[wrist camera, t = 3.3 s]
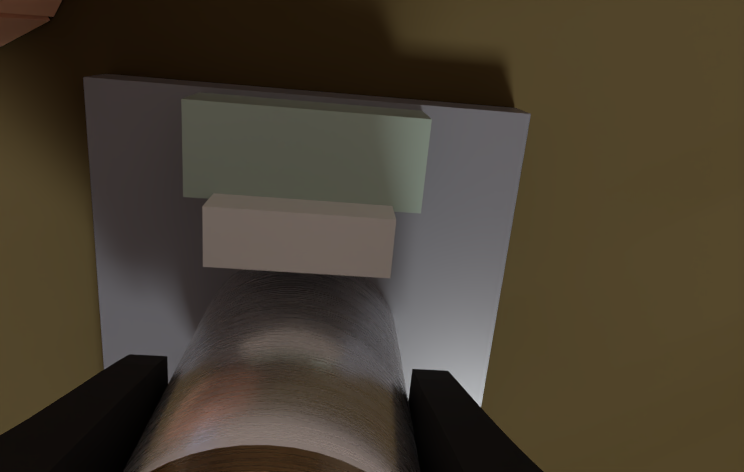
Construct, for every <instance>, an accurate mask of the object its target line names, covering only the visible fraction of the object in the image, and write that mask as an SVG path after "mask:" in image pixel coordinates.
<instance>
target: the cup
mask: <svg viewBox="0 0 744 472" xmlns="http://www.w3.org/2000/svg"><path fill="white" fill-rule="evenodd" d="M61 1H62V0H0V47H1V46H3V45H5V44H7V43H9V42H11V41H13V40H15V39H16V38H18V37H20V36H22V35H24V34H26V33H28V32H30V31H31V30H33V29H35V28H37V27H39V26H41V25H43V24H45V23H46V22H48V21H50V19H49V18H48V16H50V17H54V15H55V13H56V11H57V9H58V7H59V5H60V3H61Z"/></svg>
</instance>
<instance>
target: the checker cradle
mask: <svg viewBox="0 0 744 472" xmlns="http://www.w3.org/2000/svg"><path fill="white" fill-rule="evenodd" d="M83 83H84V97H85V111H86V125H87V138H88V152H89V166H90V180H91V194H92V208H93V222H94V236H95V250H96V264H97V278H98V292H99V306H100V320H101V334H102V347H103V361H104V369H106V368H107V367H109V366H111V365H112V364H114V363H115V362H117V361H119V360H120V359H122V358H124V357H125V356H127V355H129V354H134V355H154V356H167V363H168V383H169V381H170V379H171V377H172V376H173V374H174V372H175V370H176V368H177V366H178V364H179V362H180V360H181V358H182V356H183V354H184V352H185V350H186V348H187V346H188V344H189V343H190V341H191V339H192V337H193V335H194V333H195V331H196V329H197V327H198V325H199V323H200V321H201V319H202V317H203V315H204V313H205V312H206V310H207V308H208V306H209V304H210V302H211V300H212V298H213V297H214V295H215V293H216V292H217V291H218V289H219V288H220V287H221V286H222V284H223V283H224V282H225V281H226V280H227V279H228V278H230V277H231V276H232V275H233V274H234V273H236V272H237V271H238V270H240V269H247V270H263V271H279V272H295V273H312V274H328V275H344V276H360V277H367V278H368V279H369V280H370V281H371V282H372V283H373V284H374V285H375V286H376V287H377V289H378V290H379V291H380V292H381V293H382V295H383V297H384V298H385V300H386V302H387V303H388V305H389V308H390V310H391V312H392V315H393V319H394V323H395V327H396V332H397V338H398V344H399V350H400V356H401V361H402V367H403V373H404V379H405V385H406V390H407V396H408V400H409V392H410V384H411V375H412V369H425V370H445V371H449V372H450V373H451V374H452V375H453V377H454V378H455V379H456V380H457V381H458V382H459V383H460V385H461V386H462V387H463V388H464V389H465V390H466V391H467V393H468V394H469V395H470V396H471V397H472V398H473V399H474V401H475V402H476V403H477V404H478V405H479V406H480V407H481V404H482V398H483V392H484V386H485V380H486V374H487V368H488V362H489V357H490V351H491V345H492V339H493V333H494V327H495V321H496V315H497V310H498V304H499V298H500V292H501V286H502V280H503V274H504V268H505V262H506V257H507V251H508V245H509V239H510V233H511V227H512V221H513V215H514V210H515V204H516V198H517V192H518V186H519V180H520V174H521V168H522V163H523V157H524V151H525V145H526V139H527V133H528V127H529V121H530V115H531V114H529V113H527V112H525V111H522V110H520V109H517V108H511V107H499V106H487V105H475V104H463V103H451V102H439V101H427V100H415V99H403V98H391V97H379V96H367V95H355V94H343V93H331V92H319V91H307V90H295V89H283V88H271V87H259V86H247V85H235V84H223V83H211V82H199V81H187V80H175V79H163V78H151V77H139V76H127V75H115V74H100V75H93V76H86V77H83Z"/></svg>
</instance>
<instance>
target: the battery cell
mask: <svg viewBox="0 0 744 472" xmlns="http://www.w3.org/2000/svg"><path fill="white" fill-rule="evenodd" d="M123 472H420V466H419V460H418V454H417V448H416V443H415V437H414V431H413V425H412V419H411V414H410V408H409V402H408V396H407V390H406V385H405V379H404V373H403V367H402V361H401V356H400V350H399V344H398V338H397V332H396V327H395V323H394V319H393V315H392V312H391V310H390V308H389V305H388V303H387V302H386V300H385V298H384V297H383V295H382V293H381V292H380V291H379V290H378V289H377V287H376V286H375V285H374V284H373V283H372V282H371V281H370V280H369V279H368V278H367V277H360V276H344V275H328V274H312V273H295V272H279V271H263V270H247V269H240V270H238V271H237V272H236V273H234V274H233V275H232V276H231V277H230V278H228V279H227V280H226V281H225V282H224V283H223V284H222V286H221V287H220V288H219V289H218V291H217V292H216V293H215V295H214V297H213V298H212V300H211V302H210V304H209V306H208V308H207V310H206V312H205V313H204V315H203V317H202V319H201V321H200V323H199V325H198V327H197V329H196V331H195V333H194V335H193V337H192V339H191V341H190V343H189V344H188V346H187V348H186V350H185V352H184V354H183V356H182V358H181V360H180V362H179V364H178V366H177V368H176V370H175V372H174V374H173V376H172V377H171V379H170V381H169V383H168V385H167V387H166V389H165V391H164V393H163V395H162V397H161V399H160V401H159V403H158V405H157V407H156V408H155V410H154V412H153V414H152V416H151V418H150V420H149V422H148V424H147V426H146V428H145V430H144V432H143V434H142V436H141V438H140V439H139V441H138V443H137V445H136V447H135V449H134V451H133V453H132V455H131V457H130V459H129V461H128V463H127V465H126V467H125V469H124V471H123Z"/></svg>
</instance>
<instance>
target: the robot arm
mask: <svg viewBox="0 0 744 472" xmlns="http://www.w3.org/2000/svg"><path fill="white" fill-rule="evenodd" d="M167 385H168V363H167V356H154V355H134V354H129V355H127V356H125V357H124V358H122V359H120V360H119V361H117V362H115V363H114V364H112V365H111V366H109V367H107V368H106V369H104V370H103V371H101V372H100V373H98V374H97V375H95V376H94V377H92V378H91V379H89V380H88V381H86V382H84V383H83V384H81V385H80V386H78V387H77V388H75V389H74V390H72V391H71V392H69V393H68V394H66V395H65V396H63V397H61V398H60V399H58V400H57V401H55V402H54V403H52V404H51V405H49V406H47V407H46V408H44V409H43V410H41V411H40V412H38V413H37V414H35V415H33V416H32V417H30V418H29V419H27V420H26V421H24V422H22V423H21V424H19V425H17V426H15V427H14V428H12V429H10V430H9V431H7V432H5V433H4V434H2V435H0V472H123V471H124V469H125V467H126V465H127V463H128V461H129V459H130V457H131V455H132V453H133V451H134V449H135V447H136V445H137V443H138V441H139V439H140V438H141V436H142V434H143V432H144V430H145V428H146V426H147V424H148V422H149V420H150V418H151V416H152V414H153V412H154V410H155V408H156V407H157V405H158V403H159V401H160V399H161V397H162V395H163V393H164V391H165V389H166V387H167ZM408 402H409V408H410V414H411V419H412V425H413V431H414V437H415V443H416V448H417V454H418V460H419V466H420V472H543V471H542V470H541V469H540V468H539V467H538V466H537V465H536V464H535V463H533V462H532V461H531V460H530V459H529V458H528V457H527V456H526V455H525V454H524V453H523V452H522V451H521V450H520V449H519V448H518V447H517V446H516V445H515V444H514V443H513V442H512V441H511V440H510V439H509V437H508V436H507V435H506V434H505V433H504V432H503V431H502V430H501V429H500V428H499V427H498V426H497V425H496V424H495V423H494V422H493V420H492V419H491V418H490V417H489V416H488V415H487V414H486V413H485V412H484V411H483V409H482V408H481V407H480V406H479V405H478V404H477V403H476V402H475V401H474V399H473V398H472V397H471V396H470V395H469V394H468V393H467V391H466V390H465V389H464V388H463V387H462V386H461V385H460V383H459V382H458V381H457V380H456V379H455V378H454V377H453V375H452V374H451V373H450V372H449V371H445V370H425V369H412V375H411V384H410V392H409V400H408Z"/></svg>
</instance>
